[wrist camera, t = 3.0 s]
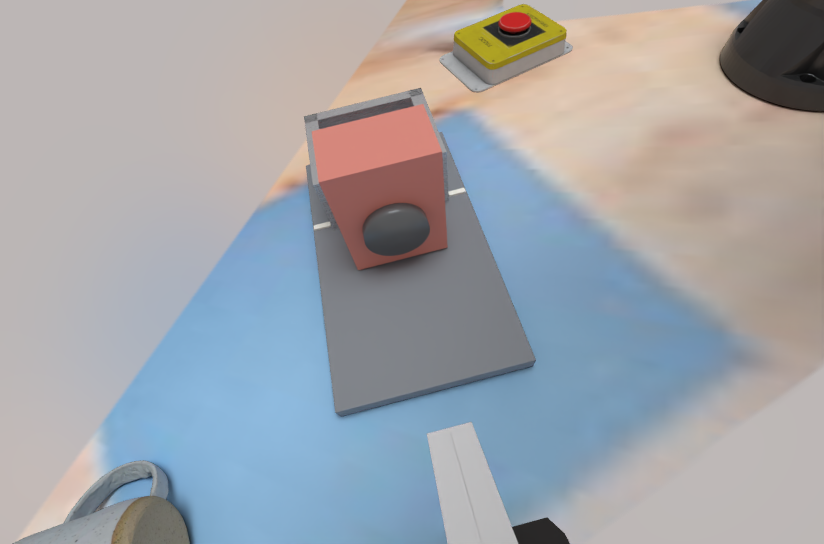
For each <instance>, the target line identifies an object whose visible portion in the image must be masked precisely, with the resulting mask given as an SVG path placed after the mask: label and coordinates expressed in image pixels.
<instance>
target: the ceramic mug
mask: <svg viewBox="0 0 824 544" xmlns="http://www.w3.org/2000/svg"><path fill="white" fill-rule="evenodd" d="M150 476H153V482H152V488H151V493H150V496H145V497H139V498H134V499H130V500H126V501H123V502H120V503H117V504H114V505H111V506H108V507H106V508H104V509H101V510H99V511H97V512H95V511H96V509H97V508H98V507H99V505H100V504H101V503H102V502H103V501H104V500H105V499H106V498H107V497H108V496H109V495H110V494H111V493H112V492H113V491H114V490H115V489H116V488H118V487H120V486H121V485H122V484H125V483H127V482H130V481H134V480H137V479H140V478H145V479H146V478H148V477H150ZM168 492H169V489H168V479H167V476H166V474H165V473H164V472H163V471H162V470H161V469H160V468H159V467H158V466H156V465H155V464H153V463H151V462H148V461H134V462H130V463H127V464H124V465H122V466H119V467H117V468H115V469H114V470H112V471H110V472H109V473H107V474H106V475H104V476H103V477H102V478H100V479H99V480H98V481H97V482H96V483H94V484H93V485H92V486H91V487H90V488H89V489H88V490H87V491H86V493H85V494H84V495H83V496H82V497H81V498H80V499H79V501H78V502H77V503H76V505H75V506H74V507H73V509H72V510H71V511H70V513H69V514H68V516H67V518H66V520H65V522H64V523H63V524H61V525H58V526H55V527H53V528H50V529H47V530H44V531H41V532H38V533H36V534H33V535H30V536H28V537H25V538H23V539H21V540H19V541H17V542H15V543H13V544H190V542H189V537H188V532H187V528H186V525H185V523H184V520H183V518H182V516H181V514H180V513H179V511H178V510H177V508H175V507H174V506H173V505H172V504H171V503H170V502H169V501H167V500H166V499H167V495H168ZM94 512H95V513H94Z"/></svg>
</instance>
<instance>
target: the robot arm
mask: <svg viewBox="0 0 824 544" xmlns="http://www.w3.org/2000/svg"><path fill="white" fill-rule="evenodd" d="M720 63H721V66H722V69H723V71H724V72H725V74H726V75H727V76H728V77H729V78H730V80H732V81H733V82H734V83H735V84H736V85H737V86H739V87H740V88H742V89H743V90H745V91H747V92H748V93H750V94H752V95H754V96H756V97H759V98H761V99H763V100H766V101H769V102H772V103H775V104H778V105H782V106H786V107H791V108H796V109H803V110H813V111H824V0H762V2H761V3H760V4H759V5H758V6H757V7H756V8H755V9H754V10H753V11H752V12H751V13H750V14H749V15H748V16H747V17H746V18H745V19H744V20H743V21H742V22H741V23H740V24H739V25H738V26H737V27H736V28H735V30H734V31H733V32H732V34H731V36H730V38H729V39H728V41H727V43H726V44H725V46H724V48H723V50H722V52H721V55H720ZM427 437H428V442H429V448H430V453H431V458H432V463H433V469H434V474H435V479H436V485H437V490H438V495H439V500H440V506H441V511H442V516H443V522H444V527H445V532H446V537H447V543H448V544H570V543H569V541H568V539H567V537H566V535H565V533H563V532H562V531H561V530H560V529H559V528H558V527H557V526H556V525H555V524H554V523H553V522H551V521H550V520H549V519H548V518H543V519H540V520H536V521H532V522H529V523H525V524H521V525H518V526H514V527H512V526H511V523H510V521H509V518H508V516H507V513H506V510H505V508H504V505H503V503H502V500H501V497H500V495H499V492H498V490H497V487H496V484H495V482H494V479H493V477H492V474H491V471H490V469H489V466H488V464H487V461H486V458H485V456H484V453H483V451H482V448H481V445H480V443H479V440H478V438H477V435H476V432H475V430H474V427H473V425H472V422H469V423H465V424H462V425H458V426H454V427H450V428H447V429H443V430H439V431H435V432H432V433H428V434H427Z"/></svg>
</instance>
